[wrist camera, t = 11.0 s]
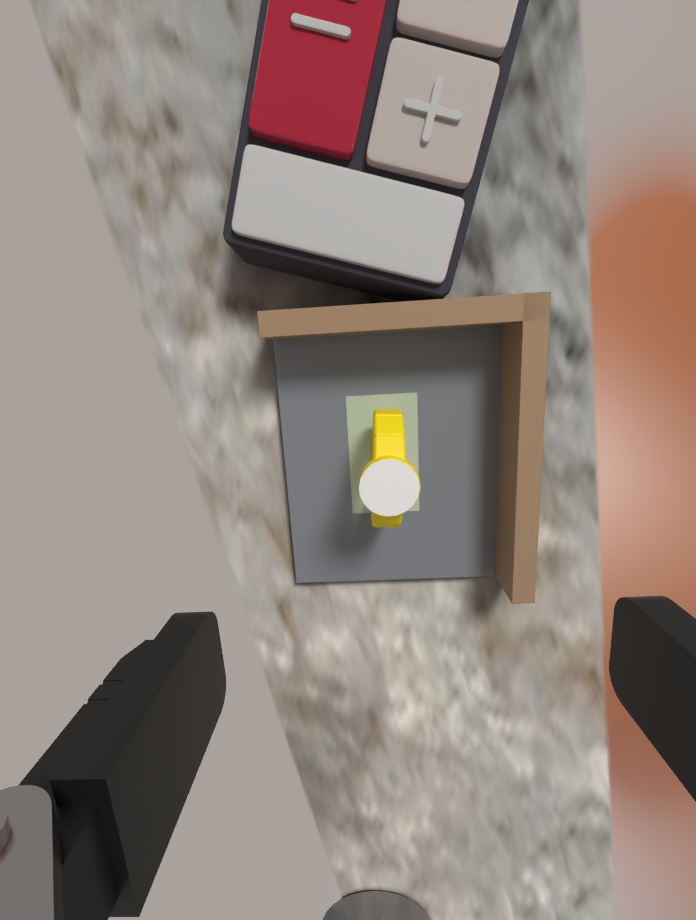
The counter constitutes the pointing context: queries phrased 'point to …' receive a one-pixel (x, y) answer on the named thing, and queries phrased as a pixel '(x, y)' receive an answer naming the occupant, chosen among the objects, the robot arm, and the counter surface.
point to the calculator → (368, 138)
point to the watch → (388, 472)
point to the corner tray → (416, 434)
